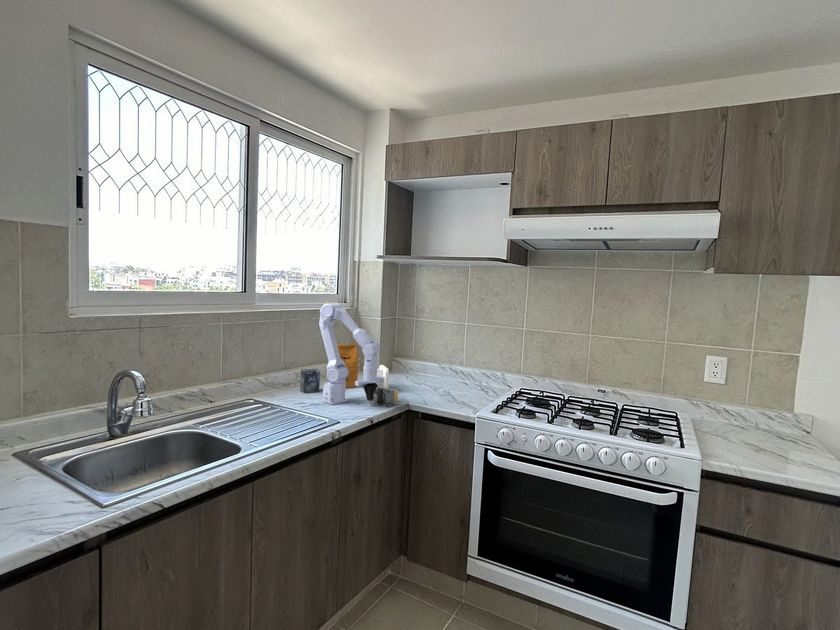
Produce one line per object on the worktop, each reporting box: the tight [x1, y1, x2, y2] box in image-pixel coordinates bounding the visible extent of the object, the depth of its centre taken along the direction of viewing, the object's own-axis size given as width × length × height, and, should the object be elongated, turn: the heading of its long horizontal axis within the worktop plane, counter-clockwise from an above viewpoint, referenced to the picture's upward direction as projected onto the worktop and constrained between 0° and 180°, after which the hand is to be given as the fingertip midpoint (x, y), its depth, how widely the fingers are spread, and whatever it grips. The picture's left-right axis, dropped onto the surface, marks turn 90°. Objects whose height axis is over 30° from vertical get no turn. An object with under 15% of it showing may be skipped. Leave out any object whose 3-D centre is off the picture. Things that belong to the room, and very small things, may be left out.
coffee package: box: [337, 343, 359, 389], centre depth 230 cm, size 10×12×22 cm
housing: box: [374, 386, 398, 408], centre depth 202 cm, size 5×14×6 cm, turn 44°
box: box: [299, 368, 321, 394], centre depth 216 cm, size 8×6×11 cm
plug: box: [368, 389, 399, 407], centre depth 202 cm, size 14×4×5 cm, turn 134°
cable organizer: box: [362, 364, 390, 392], centre depth 226 cm, size 15×11×12 cm
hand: (369, 400), depth 196 cm, fingers closed
